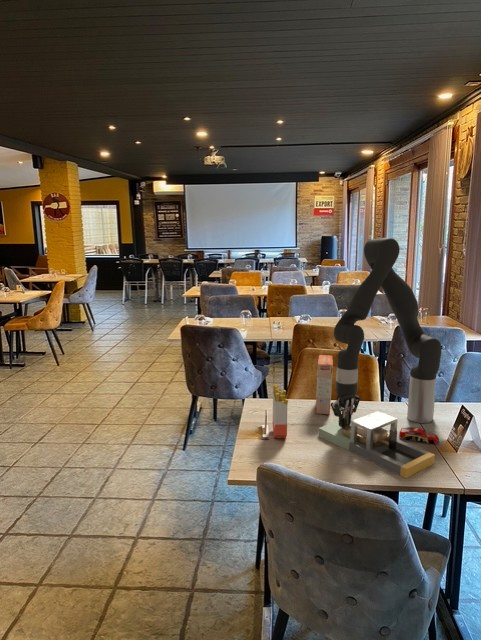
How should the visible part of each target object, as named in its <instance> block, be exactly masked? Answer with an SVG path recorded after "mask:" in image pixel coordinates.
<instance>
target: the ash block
mask: <svg viewBox="0 0 481 640" xmlns="http://www.w3.org/2000/svg"><path fill="white" fill-rule="evenodd" d="M387 433H389V432H388V430H387V429H385V428H384V427H382V428H380V429H377V430H375V431H374V436H373V441H375V440H377V439H380V438H382V437H384V436H387ZM357 434H360V435H362V436H364V437H366V438H367V430H365V429H362V428H360V427H358V429H357Z"/></svg>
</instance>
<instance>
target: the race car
mask: <svg viewBox="0 0 481 640" xmlns="http://www.w3.org/2000/svg"><path fill="white" fill-rule="evenodd" d="M398 433H399V434H398V437H399V438H400V440H401V439H402V440H404V441H407V442H410V441H411V442H415V443H423V444H429V445H433V446H434V445H436V444H438V443H439V442H440V438H439V436H438V435H437V434H435V433H433V432H428V431H426V430H425V429H422V428H420V427H414V426H413V427H403V428H402V427H401V429H400V431H399V432H398Z"/></svg>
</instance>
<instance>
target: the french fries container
mask: <svg viewBox="0 0 481 640" xmlns="http://www.w3.org/2000/svg"><path fill="white" fill-rule="evenodd" d="M272 386H273V391H272V432H273V439H286V438H287V435H288V403H289V399H287V398H286V396H287V395H286V393H287V391H286V390H285V389H283V390H282V388H278V384H277V383H273V385H272Z"/></svg>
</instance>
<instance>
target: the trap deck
mask: <svg viewBox="0 0 481 640" xmlns="http://www.w3.org/2000/svg"><path fill="white" fill-rule="evenodd" d="M353 420H354V419H351V421H353ZM350 426H351V425H350ZM342 430H343V428H342V427H340V426H339V420H337V421H335V422H334V421H333V422H332V423H329V424H326V425H323V426H321V427H318V436H319V437H320V438H322V439H324V440H326V441H328V442H330V443H332V444H334V445H336V446H338V447H341V448H343V449H345V450H347V451H349V452H351V453H353V454H356V455H357V456H359V457H360V458H364V459H365V458H366V460H367V459H368V461H369V460H370V461H369V462H371V461H372V463H373V462H374V464H376V465H378V466H380V467H382V468H384V469H386V470H388V471H390V472H393V473H394V474H396V475H398V476H401V477H402V476H403V477H402V478H404V477H405V478H404V479H407V478H409V477H411V476H413V475H415V474H417V473H420V471H422V470H425V469H426V468H428V467H431V466H432V465H434V464H435V457H436V455H435V454H434V453H431V452H430V451H427V450H425V449H422V448H420V447H417V446H415V445H412V444H410V443H409V442H405V441H403V440H401V439H399V438H397V443H396V449H395V450H391V449H389V448H388V447H386V446H384V445H381V446H379V447H377V448H373V450H371V451H369V450H367V449H366V445H365V444H363V443H361V442H359V441H357V442H356V443H352V442H350V437H348V436H346V435H343V434H342Z"/></svg>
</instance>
